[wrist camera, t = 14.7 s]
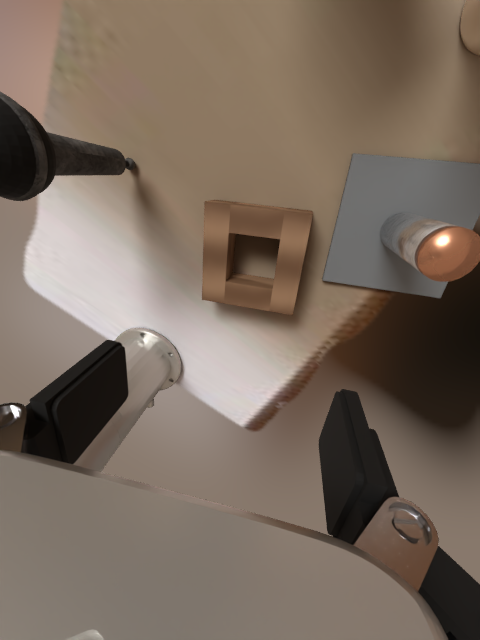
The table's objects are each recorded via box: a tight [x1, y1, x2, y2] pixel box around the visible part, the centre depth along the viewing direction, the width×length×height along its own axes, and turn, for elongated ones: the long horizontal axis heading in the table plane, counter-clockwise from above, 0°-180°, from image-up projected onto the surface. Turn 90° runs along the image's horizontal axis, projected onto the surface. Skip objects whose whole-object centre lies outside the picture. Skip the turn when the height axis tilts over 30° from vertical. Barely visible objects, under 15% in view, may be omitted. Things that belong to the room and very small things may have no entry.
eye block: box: [202, 200, 313, 315], centre depth 34 cm, size 12×12×4 cm
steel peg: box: [380, 212, 480, 282], centre depth 25 cm, size 4×4×12 cm
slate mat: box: [322, 154, 480, 298], centre depth 31 cm, size 14×14×1 cm
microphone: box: [0, 92, 135, 201], centre depth 25 cm, size 7×7×20 cm
